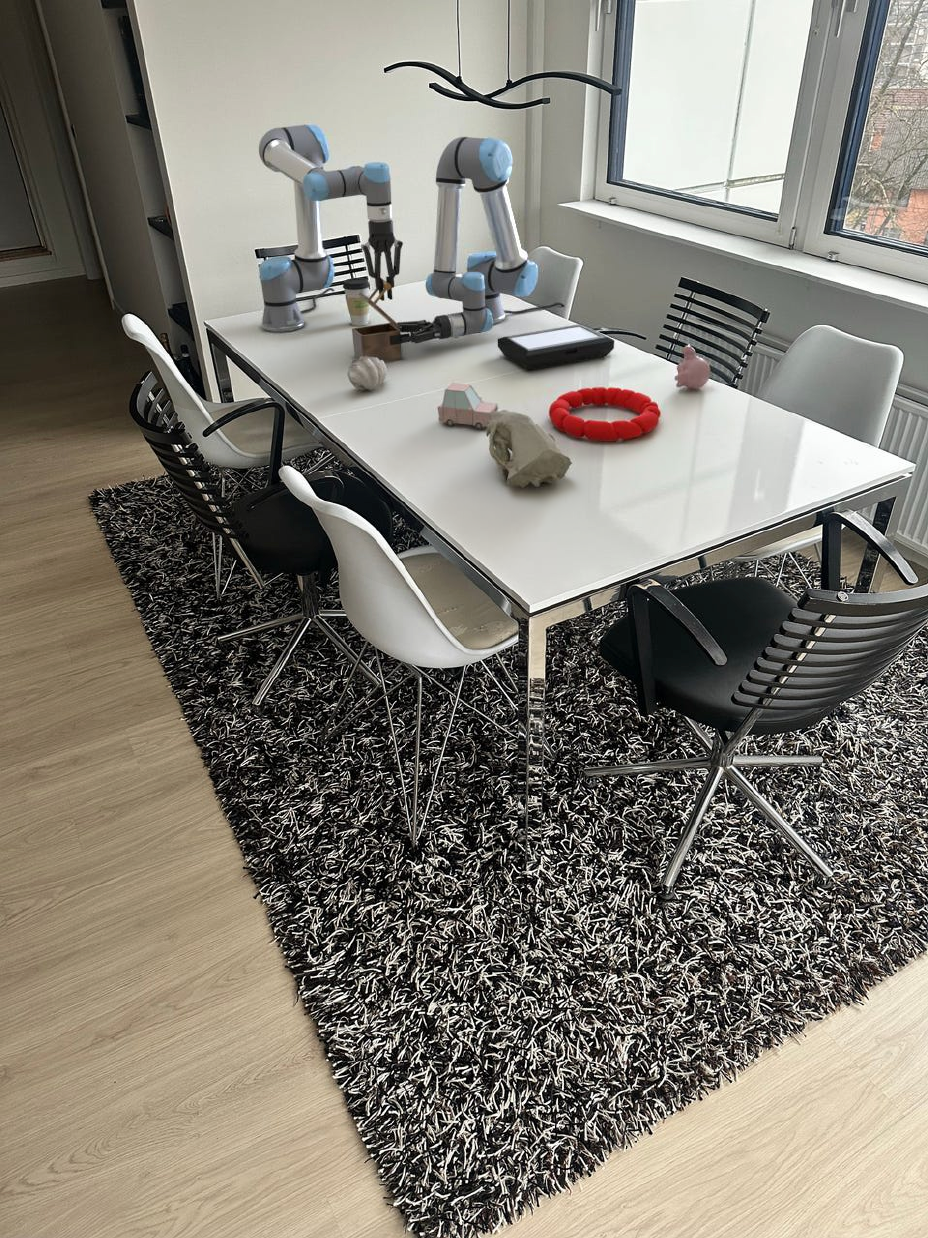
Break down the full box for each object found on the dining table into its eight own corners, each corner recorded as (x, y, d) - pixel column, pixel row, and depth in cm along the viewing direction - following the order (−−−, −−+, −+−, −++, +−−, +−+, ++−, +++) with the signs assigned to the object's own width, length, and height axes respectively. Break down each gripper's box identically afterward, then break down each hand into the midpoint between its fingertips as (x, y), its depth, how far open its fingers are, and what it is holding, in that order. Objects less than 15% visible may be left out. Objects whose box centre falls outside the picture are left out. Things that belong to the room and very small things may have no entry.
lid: (367, 301, 278) (385, 278, 276) (358, 294, 285) (375, 272, 284) (399, 329, 287) (416, 308, 285) (389, 321, 294) (405, 300, 293)
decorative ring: (589, 435, 224) (684, 402, 234) (527, 398, 247) (617, 369, 256) (589, 461, 229) (683, 427, 238) (529, 422, 251) (617, 393, 260)
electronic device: (525, 353, 274) (497, 336, 289) (525, 373, 277) (497, 355, 292) (614, 337, 284) (582, 321, 299) (613, 356, 288) (581, 340, 303)
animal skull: (496, 517, 219) (521, 479, 201) (463, 429, 225) (484, 384, 207) (557, 503, 225) (586, 465, 206) (523, 417, 231) (549, 373, 212)
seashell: (340, 388, 271) (336, 356, 265) (384, 379, 276) (382, 347, 271) (353, 398, 263) (350, 365, 258) (399, 389, 269) (396, 356, 263)
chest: (363, 365, 288) (361, 336, 283) (354, 357, 295) (351, 328, 290) (402, 359, 292) (400, 330, 287) (392, 351, 300) (390, 322, 294)
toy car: (488, 432, 240) (488, 396, 234) (436, 426, 244) (434, 390, 239) (499, 419, 247) (499, 384, 241) (448, 413, 252) (447, 379, 246)
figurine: (665, 387, 264) (669, 347, 257) (693, 380, 268) (698, 340, 261) (686, 396, 257) (690, 355, 250) (714, 388, 262) (720, 348, 255)
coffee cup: (372, 326, 323) (368, 283, 314) (345, 327, 323) (340, 284, 315) (374, 318, 331) (371, 276, 322) (348, 319, 331) (344, 277, 323)
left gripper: (360, 224, 266) (367, 304, 279) (407, 219, 271) (412, 298, 284) (352, 219, 272) (359, 299, 285) (399, 215, 277) (403, 293, 290)
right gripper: (461, 346, 292) (397, 357, 285) (435, 328, 309) (375, 338, 302) (461, 323, 287) (396, 333, 280) (434, 306, 304) (373, 315, 297)
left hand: (385, 298), depth 285 cm, fingers closed on lid, 2 cm apart
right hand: (385, 336), depth 291 cm, fingers closed on chest, 10 cm apart
